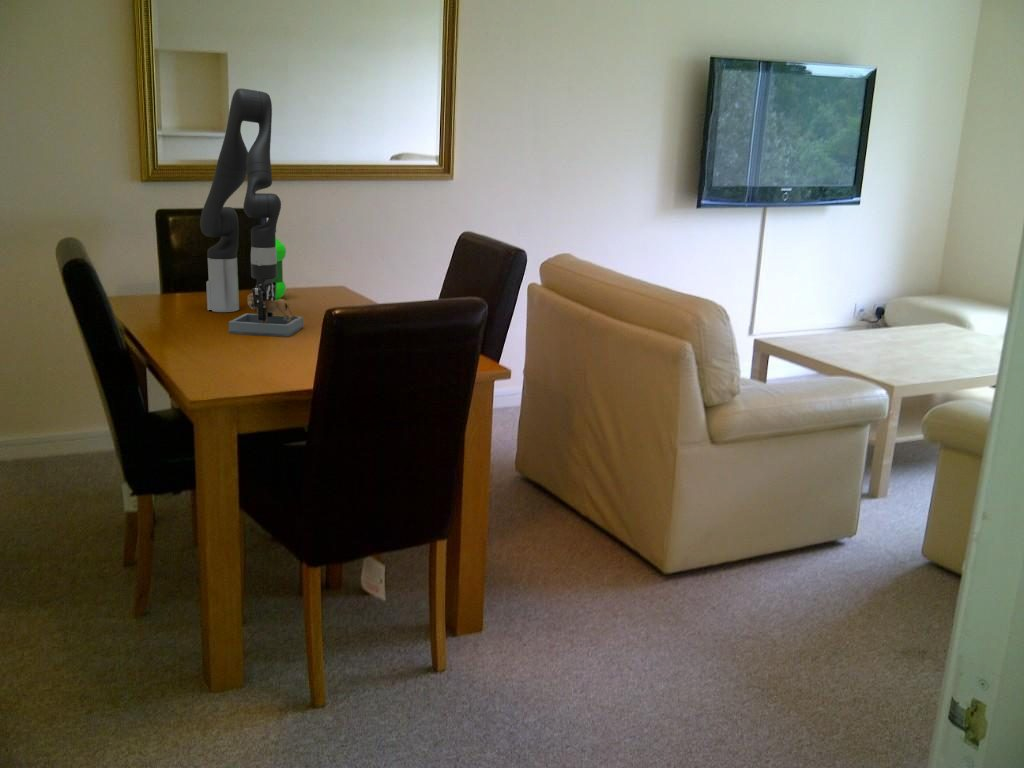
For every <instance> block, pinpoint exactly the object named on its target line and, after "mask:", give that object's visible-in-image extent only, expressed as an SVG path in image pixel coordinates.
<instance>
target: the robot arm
mask: <svg viewBox="0 0 1024 768" xmlns="http://www.w3.org/2000/svg"><path fill="white" fill-rule="evenodd" d="M271 99H272V98H271V97H270V95H269V93H267V92H265V91H260V90H255V89H248V88H236V90H235V91H234V93H233V95H232V98H231V102H230V106H229V107H230V108H229V111H228V118H227V123H226V129H225V134H224V138H223V141H222V145H221V149H220V151H219V152H220V153H219V154H218V155H219V156H218V159H217V163H216V165H215V166H216V167H215V172H214V175H213V180H212V183H211V186H210V190H209V192H208V195H207V198H206V200H205V202H204V204H203V205H204V206H203V208H202V211H201V215H200V220H199V221H200V222H199V226H200V230H201V233H202V234H203V235H204V236H206V237H207V238H209V237H210V238H217V237H220V240H219V241H218V242H217V243H216V244H214V245H212V246H211V247H209V248H208V249H207V250H206V252H207V269H208V270H207V272H208V280H207V281H206V283H205V284H206V286H205V287H206V304H207V305H206V307H207V311H209V310H212V311H211V312H214V313H230V312H237V311H239V310H240V299H239V274H238V273H239V272H238V271H239V270H238V251H239V229H240V227H239V226H240V225H239V217H238V213H237V211H236V210H235V209H234V208H233V207H231V206H225V204H226V202H227V201H228V200H229V198H231V196H232V195H233V194H234V193H235V192H236V191H237V190H238V189H239V188H240V187H241V186H242V185H243V183H244V182H245V180H247V186H246V192H245V196H244V201H243V211H244V214H245V215H246V216H247V217H248V218H251V219H253V218H254V219H267V220H266V222H265V223H264V224H263V223H262V224H260V225H255V226H253V227H252V228H251V229H250V246H251V248H250V276H251V278H252V279H255V280H256V285H255V287H253V288H252V290H251V291H252V292H251V293H253V299H254V306H255V307H257V308H258V313H257V314H258V319H259V320H261V321H265V320H266V301H267V300H268V299H269V300H271V301H274V300H275V298H276V284H277V283H276V281H272V279H275V278H276V277H277V253H276V240H275V237H276V233H277V225H278V224H277V223H278V221H279V220H278V219H279V216H280V212H281V209H282V201H281V199H280V197H279V196H278V195H277V194H276V193H273V192H272V193H257V192H258V191H261V190H264V189H268V188H270V187H271V186H272V184H273V175H272V165H271V164H272V162H271V143H272V141H271V139H272V118H273V117H272V116H273V107H272V104H273V103H272V100H271ZM243 122H249V123H256V124H258V135H257V136H256V139H255V141H254V142H253V144H252V146H251V147H250V149H249V150H248V149H247V147H246V144H245V142H244V138H243V137H242V136H243V135H242V132H241V131H242V130H241V128H242V123H243ZM273 313H274V312H273ZM273 313H271V312H268V317H272V316H273V315H274V314H273Z"/></svg>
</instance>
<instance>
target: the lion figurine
mask: <svg viewBox="0 0 1024 768" xmlns="http://www.w3.org/2000/svg"><path fill="white" fill-rule="evenodd" d="M246 298H247V305H248V306H249V308H250V309H252V310H253V311H255V313H256V314H258V308H257V307H255V306H254V299H253V292H251V293H250V294H248V295H247V297H246ZM287 309H288V311H289V312H288V311H287ZM278 311H279V312H280V313H281V314H282V315H283V316H285V318H283V319H282V320H287V322H290V321H291V317H290V316H293V317H294V318H295V319H298V317H299V316H298V317H296V315H294V314H293V311H292V309H291V307H290V304H289V303H288V302H287V300H286V299H283V298H280V299H278V300H274V301H271V300H269V299H268V300H267V301H266V320H265V321H262V323H266V321H267V320H268V312H271V313H277V312H278ZM287 317H288V319H287Z"/></svg>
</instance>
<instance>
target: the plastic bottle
mask: <svg viewBox="0 0 1024 768" xmlns="http://www.w3.org/2000/svg"><path fill="white" fill-rule="evenodd" d="M275 240H276V253H277V277H276V278H275V279H272V281H276V283H277V284H276V298H275V300H278V299H282V297H284V295H285V293H286V291H287V286H286V284H285V282H284V276H283V275H284V274H283V260H284V259H285V257H286V254H287V252H286V251H287V249H286V246H285V244H284V243H283V242H281V240H279V238H278V237H276V236H275Z"/></svg>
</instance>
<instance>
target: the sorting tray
mask: <svg viewBox="0 0 1024 768" xmlns="http://www.w3.org/2000/svg"><path fill="white" fill-rule="evenodd" d="M295 316H296V315H295ZM290 317H291V321H290V322H287V320H282V319H283V318H285V315H281V314H280V315H279V314H278V315H277V314H273V316H272V317H268V320H267V321H266V323H262V321H261V320H259V319H258V313H247V312H246V313H244V314H242V315H239V316H238V317H235V318H234V319H232V320H229V321H228V334H229V335H242V336H243V335H244V336H245V335H246V336H247V335H248V336H260V335H261V336H265V337H276V336H277V338H278V337H281V338H291V336H293V335H294V333H295V334H297V331H298V332H299V331H301V330H302V329H301V328H303V329H304V317H303V316H296V317H298V319H295V318H294V317H293V316H292V315H290ZM287 319H288V317H287ZM300 329H301V330H300Z"/></svg>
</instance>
